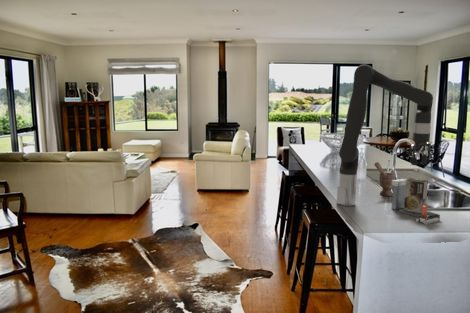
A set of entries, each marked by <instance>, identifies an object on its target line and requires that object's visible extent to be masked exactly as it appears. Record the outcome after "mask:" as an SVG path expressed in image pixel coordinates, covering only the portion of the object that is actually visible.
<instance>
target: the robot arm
mask: <svg viewBox="0 0 470 313" xmlns="http://www.w3.org/2000/svg"><path fill="white" fill-rule="evenodd" d="M370 85H373V86H377V87H379V88H382V89H384V90H386V91H387V92H389V93H391V94H394V95H396V96H399V97H401V98H403V99H405V100H409V101H411V102H413V103H414V104H416V112H415V115H414V116H415V117H414V124H413V133H412V135H413V136H412V141H413V142H414V144H409V151H408V152H409V153H408V157H410V158H411V162H410V164H411V166H417V160H418V156H419V155H420V154H421V164H424V165H425V164H427V162H428V156H430V155H431V151H432V150H431V147H432V143H431V142H430V140H431V139H430V138H431V131H432V130H431V129H432V128H431V123H432V122H431V121H432V110H433V108H432V107H433V103H434V102H433V101H434V96H433V94H432V93H431V92H430V91H427V90H424V89H422V88H418V87H416V86H414V85H412V84H409V83H408V82H405V81H402V80H400V79H396V78H393V77H390V76H388V75H385V74H383V73H381V72H379V71H377V70H376V69H374V68H373V67H372V66H371V65H368V64H360V65H359V66H357V68H355V70H354V74H353V87H352V93H351V96H350V100H349V104H348V108H347V114H346V120H345V127H344V135H343V139H342V142H341V144H340V145H341V146H340V148H339V154H338V155H339V157H340V166H339V170H338V171H339V174H338V178H339V179H338V186H337V187H336V188H337V190H336V204H338V205H342V206H344V207H346V206H348V207H351V206H352V207H353V206H355V205H356V195H357V178H358V177H357V176H358V168H359V156H360V155H359V154H360V152H359V148H358V140H359V136H360V133H361V132H362V129H363V127H364V126H363V125H364V123H365V120H366V113H367V107H368V106H367V105H368V101H367V98H368V97H367V94H368V89H369V87H370Z"/></svg>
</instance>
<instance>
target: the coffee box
mask: <svg viewBox="0 0 470 313" xmlns="http://www.w3.org/2000/svg"><path fill="white" fill-rule="evenodd" d="M406 179H407V180H406V187H405V202H404V208H403V209H404V210H406V211H411V212H416V213H421V212H422V205H426V206H427V199H428V186H429V185H428V184H429V180H428V179H427V180H426V179H419V178H413V177H410V178H409V177H408V178H406Z"/></svg>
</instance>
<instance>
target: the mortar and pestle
mask: <svg viewBox="0 0 470 313" xmlns="http://www.w3.org/2000/svg"><path fill="white" fill-rule="evenodd" d="M374 167H375V168H376V169H377V171H378V172H379V184H380V187H381V188H382V190H380V193H379V195H380V196H382V197H392V195H393V191H391V189H393V185H392V180H396V174H395V173H393V172H385V171H384V169H383V168H382V165H381V164H380V163H379V162H377V161H376V162H375V163H374Z"/></svg>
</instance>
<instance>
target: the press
mask: <svg viewBox="0 0 470 313" xmlns="http://www.w3.org/2000/svg"><path fill="white" fill-rule="evenodd" d="M407 179H408V178H399V179H395V180H392V185H393V187H392V193H393V195H392V196H391V197H392V198H391V210H395V211H397V210H399V212H398V213H401V214H404V215H408V216H411V217H415V218H416V219H415V222H416V223H421V222H420V218H421V217H420V216H421V213H416V212H411V211H406V210H404V202H405V187H406V180H407ZM427 214H428V215H427V219H428V220H426V221H424V223H423V224H424V225H425V226H427V225H430V224H433V222H434V223H437V222H439V221H440V220H441V214H439V213H435V212H432V211H429V210H427ZM430 218H431V219H430Z"/></svg>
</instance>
